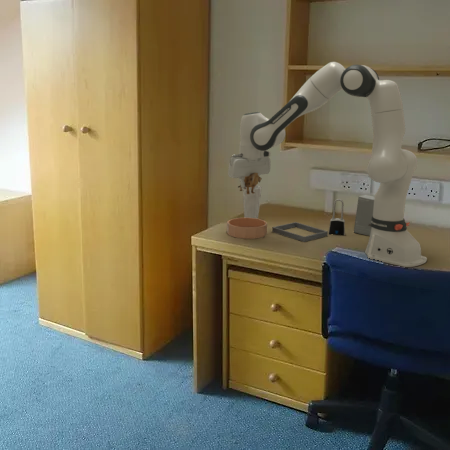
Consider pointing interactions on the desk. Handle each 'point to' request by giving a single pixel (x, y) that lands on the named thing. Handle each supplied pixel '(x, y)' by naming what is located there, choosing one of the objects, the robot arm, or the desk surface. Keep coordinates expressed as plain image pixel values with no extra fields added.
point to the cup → (251, 202)
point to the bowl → (247, 228)
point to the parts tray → (282, 231)
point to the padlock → (337, 222)
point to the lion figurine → (251, 182)
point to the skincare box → (364, 215)
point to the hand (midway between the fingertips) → (248, 186)
